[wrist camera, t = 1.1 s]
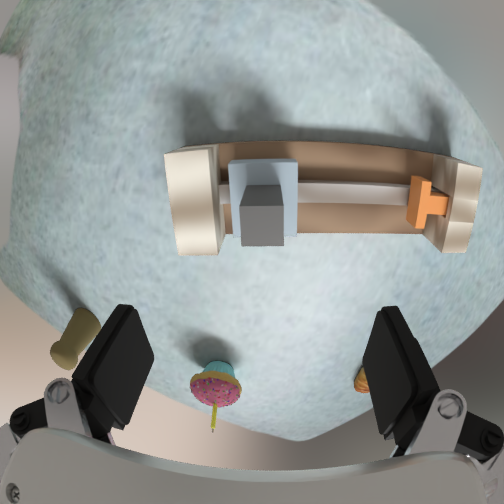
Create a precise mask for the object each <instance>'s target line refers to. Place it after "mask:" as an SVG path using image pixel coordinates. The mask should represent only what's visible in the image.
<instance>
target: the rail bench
mask: <svg viewBox="0 0 504 504" xmlns="http://www.w3.org/2000/svg"><path fill="white" fill-rule="evenodd" d="M243 159H296V161H297V162H298V203H297V233H395V234H423V235H424V236H425V237H426V238H427V239H428V240H429V241H430V242H431V243H432V244H433V245H434V246H435V247H436V248H437V249H438V250H439V251H440V252H441V253H466V250H467V246H468V243H469V239H470V235H471V231H472V227H473V222H474V218H475V213H476V208H477V203H478V198H479V192H480V185H481V178H482V170H483V168H481V167H478V166H476V165H473V164H471V163H468V162H465V161H462V160H460V159H457V158H454V157H451V156H446V155H441V154H435V153H430V152H424V151H418V150H411V149H404V148H396V147H388V146H379V145H369V144H358V143H344V142H326V141H246V142H227V143H213V144H201V145H191V146H184V147H181V148H179V149H176V150H173V151H171V152H168V153H165V154H164V160H165V169H166V177H167V185H168V192H169V200H170V206H171V213H172V219H173V226H174V232H175V238H176V243H177V249H178V254H179V255H218V254H219V251H220V248H221V245H222V243H223V240H224V237H225V234H233V227H232V213H231V200H230V186H229V171H228V164H229V162H230V161H231V160H243ZM411 176H421V177H423V178H425V179H427V180H429V181H431V182H432V184H431V192H437V193H446V194H448V195H450V196H449V202H448V208H447V213H446V215H437V214H427V217H426V222H425V227H424V229H419V228H414V227H413V226H412V225H411V224H410V223H409V222H408V221H407V220H406V215H407V208H408V201H409V194H410V185H411Z"/></svg>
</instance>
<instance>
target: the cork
mask: <svg viewBox="0 0 504 504" xmlns="http://www.w3.org/2000/svg"><path fill="white" fill-rule="evenodd" d="M100 330H101V325H100V322H99V320H98V319H97V318H96V316H95V315H94V314H92V313H91V312H90V311H88V310H86V309H84V308H78V309H76V310H75V312H74V314H73V316H72V318H71V320H70V321H69V323H68V325H67V327H66V329H65V331H64V333H63V335H62V337H61V339H60V341H57V342H55V343H54V344H53V345H52V347H51V350H50V355H51V357H52V359H53V360H54V362H55V363H56V364H57V365H59V366H60V367H61V368H63V369H66V370H71V369H73V368H74V367H75V366H76V364H77V362H78V355H79V354H80V353H81V352H82V351H83V350H84V349H85V347H86V346H87V345H88V344H89V343H90V342H91V341H92V340H93V338H94V337H95V336H96V335H97V334H98V333H99V332H100Z"/></svg>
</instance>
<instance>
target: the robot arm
mask: <svg viewBox="0 0 504 504" xmlns="http://www.w3.org/2000/svg"><path fill="white" fill-rule="evenodd" d="M153 362H154V353H153V351H152V348H151V346H150V343H149V341H148V338H147V336H146V333H145V330H144V328H143V325H142V322H141V320H140V317H139V314H138V311H137V310H136V309H134V307H133V306H132V305H125V304H119V305H117V307H116V308H115V309H114V311H113V312H112V314H111V315H110V317H109V318H108V320H107V321H106V323H105V324H104V326H103V327H102V329H101V330H100V332H99V333H98V335H97V336H96V338H95V339H94V341H93V342H92V344H91V345H90V347H89V348H88V350H87V352H86V353H85V355H84V357H83V358H82V360H81V361H80V363H79V365H78V366H77V368H76V370H75V371H74V373H73V374H72V378H73V379H72V381H69V380H68V379H66V378H57V379H55V380H53V381H52V382H50V383H49V384H48V386H47V387H46V389H45V392H44V398H42V399H39V400H37V401H34V402H32V403H29V404H27V405H24V406H22V407H19V408H17V409H16V410H15V411H14V412H13V413H12V415H11V418H10V424H8V423H6V424H4V425H3V426H2V427H1V428H0V504H504V435H503V432H502V430H501V429H500V427H498V426H497V425H496V424H493V423H491V422H489V421H487V420H485V419H483V418H481V417H478V416H476V415H474V414H472V413H470V412H468V411H467V404H466V401H465V399H464V397H463V396H462V395H461V394H460V393H458V392H457V391H455V390H451V389H449V390H443V391H440V389H439V386H438V384H437V381H436V379H435V377H434V375H433V373H432V370H431V368H430V366H429V364H428V361H427V359H426V357H425V355H424V353H423V351H422V349H421V347H420V345H419V343H418V341H417V339H416V338H414V337H413V335H412V333H411V331H410V329H409V327H408V325H407V323H406V321H405V319H404V317H403V315H402V313H401V312H400V310H399V308H398V307H397V306H386V307H382V309H381V311H378V312H377V314H376V318H375V321H374V325H373V328H372V331H371V334H370V338H369V341H368V344H367V347H366V350H365V353H364V356H363V360H362V363H363V368H364V372H365V376H366V379H367V383H368V387H369V391H370V395H371V399H372V403H373V407H374V412H375V416H376V420H377V425H378V429H379V433H380V434H383V435H384V439H385V440H389V439H393V438H394V439H395V443H396V445H397V446H396V447H395V449H394V451H393V452H392V454H391V456H390V457H389V459H384V460H380V461H374V462H369V463H363V464H356V465H349V466H343V467H334V468H324V469H314V470H313V469H312V470H293V471H258V470H238V469H227V468H216V467H209V466H200V465H195V464H188V463H182V462H177V461H172V460H167V459H163V458H158V457H153V456H150V455H146V454H142V453H138V452H135V451H131V450H128V449H124V448H121V447H118V446H116V445H115V443H114V440H113V438H112V435H111V433H110V430H111V428H112V427H114V428H117V429H121V430H123V429H124V427H125V425H127V424H129V422H130V419H131V417H132V414H133V412H134V409H135V406H136V404H137V401H138V399H139V396H140V394H141V391H142V389H143V386H144V384H145V381H146V379H147V376H148V374H149V372H150V369H151V367H152V364H153Z"/></svg>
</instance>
